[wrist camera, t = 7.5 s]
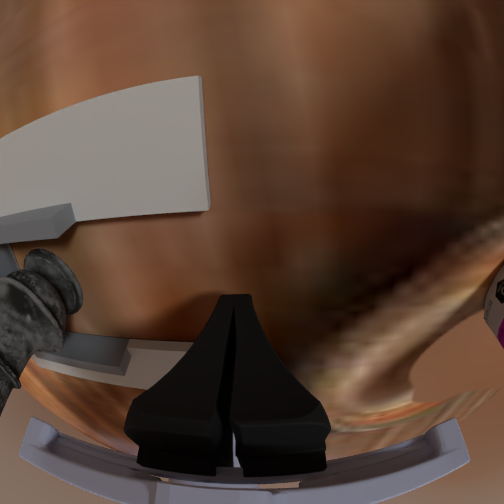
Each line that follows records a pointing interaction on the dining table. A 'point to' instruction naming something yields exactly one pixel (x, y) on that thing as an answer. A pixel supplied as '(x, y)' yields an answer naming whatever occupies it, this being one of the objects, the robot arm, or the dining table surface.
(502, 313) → the supplement can
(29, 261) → the black chess piece
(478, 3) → the dining table surface
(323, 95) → the dining table surface
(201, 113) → the board
